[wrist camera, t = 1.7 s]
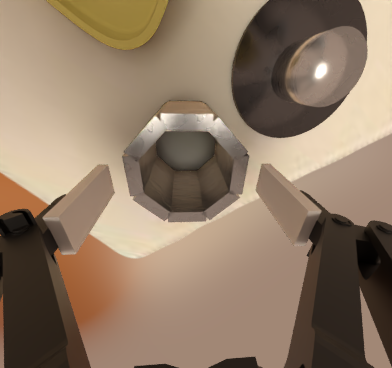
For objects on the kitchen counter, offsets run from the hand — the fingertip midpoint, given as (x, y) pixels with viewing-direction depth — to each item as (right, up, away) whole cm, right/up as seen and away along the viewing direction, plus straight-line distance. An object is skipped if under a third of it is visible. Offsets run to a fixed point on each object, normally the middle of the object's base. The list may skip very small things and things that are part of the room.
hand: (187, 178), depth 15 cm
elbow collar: (0, +5, +7) cm, 9 cm away
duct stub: (+12, +12, +4) cm, 17 cm away
